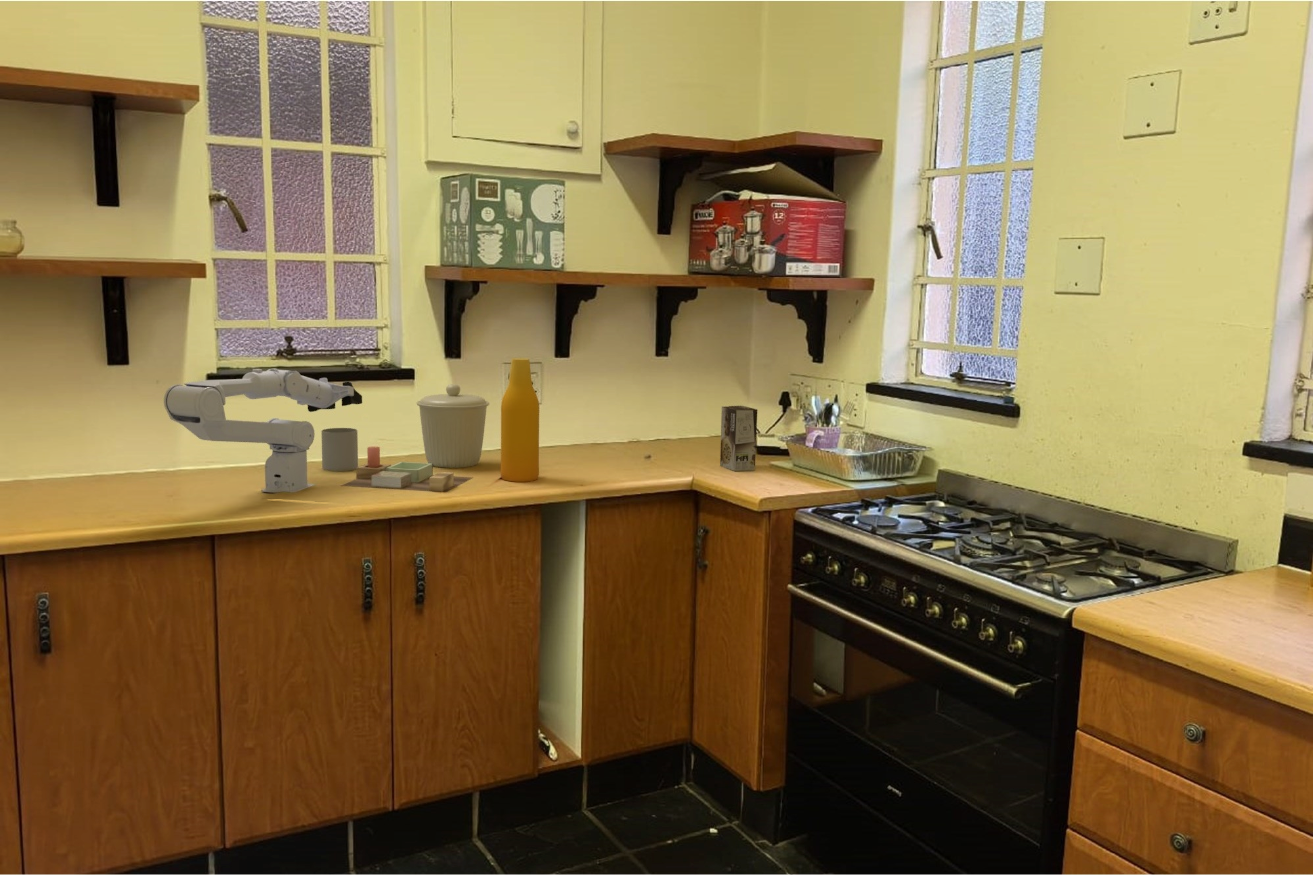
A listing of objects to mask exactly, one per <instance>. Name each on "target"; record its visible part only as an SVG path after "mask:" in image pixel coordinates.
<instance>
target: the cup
mask: <svg viewBox="0 0 1313 875" xmlns="http://www.w3.org/2000/svg"><path fill="white" fill-rule="evenodd" d="M320 432H321V464H322V466H321V467H322V468H321V469H323V471H329V472H348V471H355V470H356V468H357V467H359V457H358V456H359V452H358V451H359V450H358V449H359V448H358V442H359V441H358V439H359V438H358V429H357V428H350V427H332V428H331V427H330V428H324V429H322V430H321V431H320Z"/></svg>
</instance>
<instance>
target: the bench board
mask: <svg viewBox="0 0 1313 875" xmlns="http://www.w3.org/2000/svg"><path fill="white" fill-rule="evenodd" d="M390 466H392V465H391V464H385V463H382V464H380V467H379V468H370V467H368V462H367V463H365V464H363V465H358V467H357V468H356V469H355V472H356V473H355V474H356V477H355V479H353V480H351V481H349V482H345V483H344V484H342V485H341V484H340V486H341V487H353V488H368V489H369V488H372V489H383V490H384V489H386V490H400V491H401V490H403V491H404V490H405V491H416V492H417V491H419V492H432V493H433V492H434V493H447V492H449V491H452V490H453V489H455V488H457V487H459V486H461V485H463V484H464V483H466V482H468V481H469V480H471V479H472V480H473V479H474V477H473V476H472V477H471V476H456V475H454V472H448V471H446V472H445V471H440V472H438V473H436V474H433V476H431V477H429V478H426V479H424V480H422V481H420V482H411V484H409V485H407V486H405V487H403V488H387V487H372V475H374V474H377V473H379V472H382V471H386V470H385V468H387V467H390Z"/></svg>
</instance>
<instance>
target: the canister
mask: <svg viewBox="0 0 1313 875" xmlns="http://www.w3.org/2000/svg"><path fill="white" fill-rule="evenodd" d="M445 391H446V393H443V394H442V393H441V394H440V393H439V394H431V395H427V396H424V397H422V398H421V399H420V400H417V402H416V405H417V406H418V407H419V415H420V416H419V417H420V423H421V424H420V425H421V432H422V443H423V447H424V454H425V459H426V461H427V463H431V464H433V467H437V468H443V469H445V468H446V469H459V468H460V469H461V468H462V469H463V468H469V467H475V466H477V464H478V463H479V462H480V460H481V457H482V451H483V443H484V437H485V436H484V435H485V425H486V418H487V417H486V416H487V408H488V406H489V405H490V402H489V401H488V400H485V398H483V397H481V396H479V395H473V394H463V393H461V394H460V392H461V387H460V385H458V384H457V383H450V384H448V385H446V387H445Z"/></svg>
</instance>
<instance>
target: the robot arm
mask: <svg viewBox="0 0 1313 875" xmlns="http://www.w3.org/2000/svg"><path fill="white" fill-rule="evenodd" d="M241 395H242V396H243V395H244V396H245V397H246V399H250V400H257V399H268V398H276V397H286V398H290V399H291V400H294V401H296V403H297V405H300V406H305V405H307V411H308V412H310V413H312V412H318V411H319V410H334V409H336V403H337V402H338V401H341V406H342V407H346V406H350V405H360V404H363V395H362V394H360V392H359V391H357V390H356V389H355V388H354V386H353V383H352V382H350V381H343V382H342V385H341V384H335V383H331V382H329V381H328V378H327V377H321V378H319V379H315V378H312V377H308V376H304V375H301V374H300V372H299V371H297V370H288V369H287V370H286V369H278V368H269V369H267V370H263V369H262V368H261V369H260V368H253V369H252V371H251V372H250V371H249V372H247V373H245V374H244V375H243V376H242V378H236V379H234V378H233V379H232V378H231V379H206V380H205V379H204V380H199V381H190V382H189V381H188V382H185V383H183V385H182V384H173V385H171V386H170V387H168V388H167V390H166V391H165V394H164V396H163V404H164V405H163V406H164V409H165V410H166V413H167V415H168V417H169V419H170V421H172V422H173V421H174V422H175V423H178V424H180V425H182V426H183V427H184V428H185V429H186V430H188V431H189V432H190V433H192V435H194V436H195V437H197V438H198V439H200V440H201V441H211V442H226V443H228V442H230V443H231V442H232V443H233V442H234V443H252V444H253V443H255V444H256V443H257V444H267V445H268V446H269V450H270V451H271V450H272V451H271V452H272V453H271V455H270V456H269V457H267V459H266V460H265V463H264V478H265V480H264V481H265V484H264V486H265V488H263V489H261V492H263V493H274V494H275V493H276V494H277V493H280V492H282V493H297V492H299V491H302V490H305V489H308V488H310V487H312V486H316V483H308V456H307V455H308V451H309V450H310V447H311V446H312V445H313V443H314V440H315V429H314V426H313V424H312V423H310V421H307V420H302V421H300V420H289V419H279V418H271V419H269V420H267V421H253V420H252V421H249V420H237V419H235V420H234V419H233V420H232V419H227V418H226V413H225V407H224V406H225V405H226V398H229V397H234V396H235V397H236V396H241Z"/></svg>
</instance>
